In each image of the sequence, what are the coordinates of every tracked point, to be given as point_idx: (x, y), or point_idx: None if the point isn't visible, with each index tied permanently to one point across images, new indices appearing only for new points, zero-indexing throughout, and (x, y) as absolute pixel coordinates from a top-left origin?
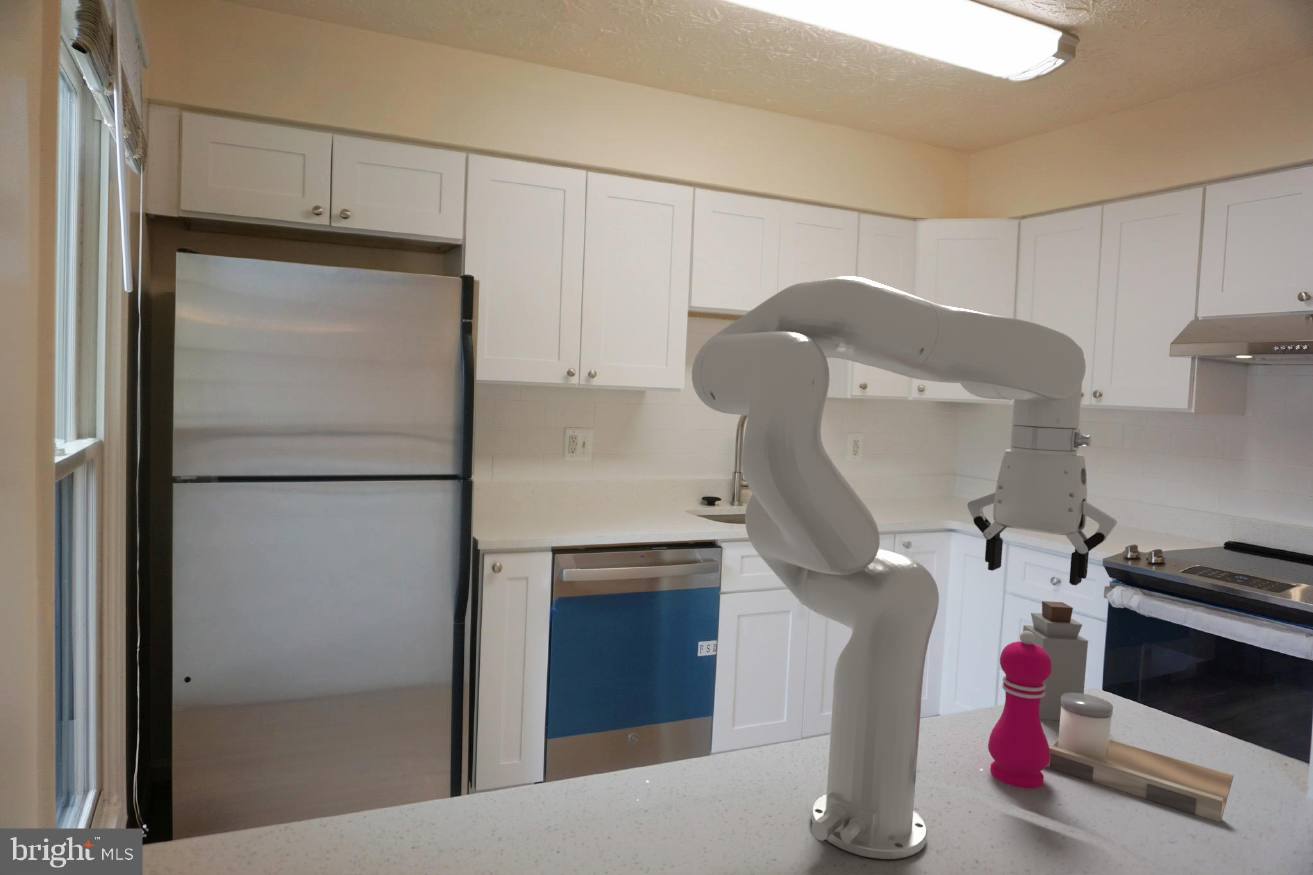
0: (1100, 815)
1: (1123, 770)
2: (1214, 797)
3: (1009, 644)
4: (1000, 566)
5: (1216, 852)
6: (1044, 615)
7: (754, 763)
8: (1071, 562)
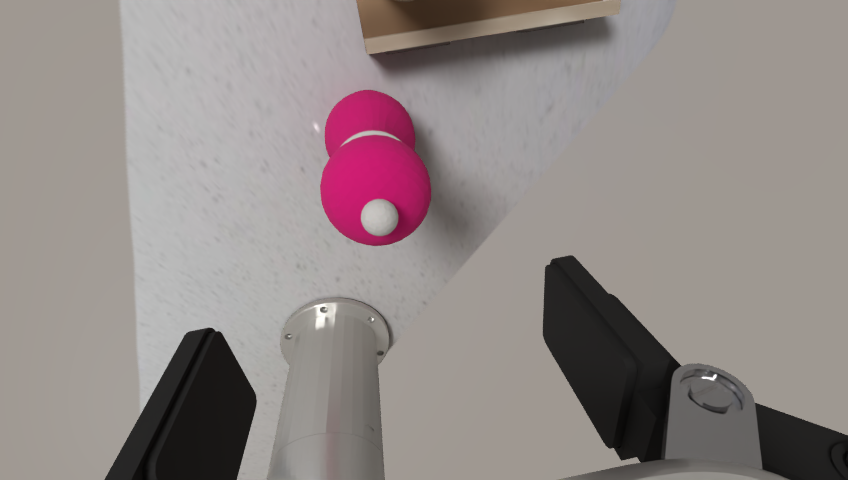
0: (475, 116)
1: (493, 31)
2: (610, 9)
3: (341, 221)
4: (219, 334)
5: (591, 88)
6: None
7: (171, 345)
8: (588, 411)
